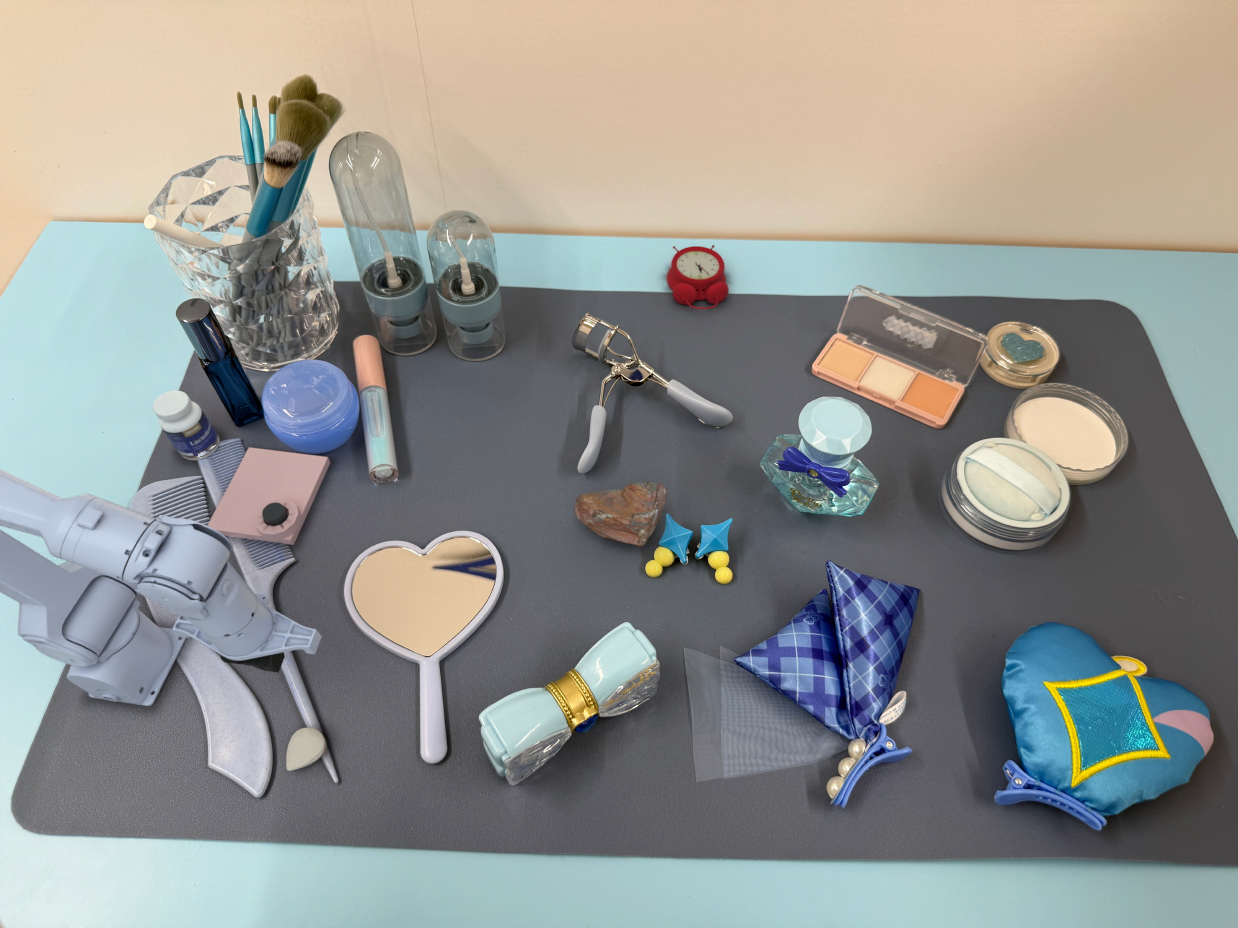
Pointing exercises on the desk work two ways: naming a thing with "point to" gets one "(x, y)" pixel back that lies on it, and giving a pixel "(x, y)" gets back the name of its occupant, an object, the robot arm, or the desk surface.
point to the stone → (623, 511)
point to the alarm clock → (697, 276)
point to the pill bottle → (185, 425)
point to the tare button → (274, 514)
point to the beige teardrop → (305, 748)
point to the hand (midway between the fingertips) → (276, 663)
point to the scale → (269, 494)
